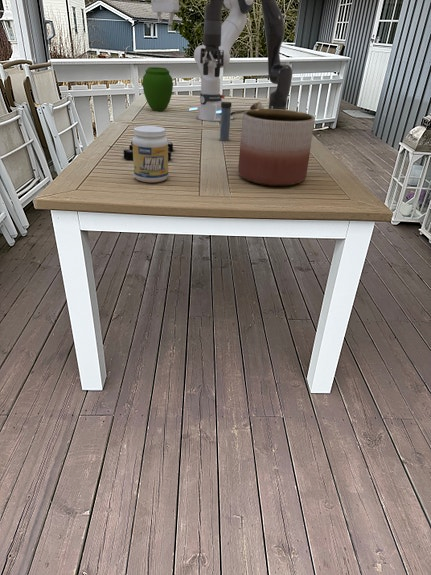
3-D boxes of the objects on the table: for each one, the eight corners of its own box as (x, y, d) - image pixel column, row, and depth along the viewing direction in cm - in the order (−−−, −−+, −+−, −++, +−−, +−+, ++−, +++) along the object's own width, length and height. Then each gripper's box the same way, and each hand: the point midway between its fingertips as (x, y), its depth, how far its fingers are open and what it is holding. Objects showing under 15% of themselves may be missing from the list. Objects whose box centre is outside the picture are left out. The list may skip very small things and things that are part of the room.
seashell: (262, 114, 271) (264, 101, 267) (264, 116, 267) (266, 102, 262) (248, 114, 270) (249, 101, 266) (250, 115, 265) (251, 102, 261)
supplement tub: (139, 184, 140) (136, 133, 131) (130, 174, 149) (127, 125, 140) (173, 181, 144) (172, 131, 135) (162, 172, 153) (161, 124, 144)
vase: (143, 107, 275) (142, 66, 262) (173, 108, 277) (172, 67, 264) (142, 112, 259) (140, 68, 246) (173, 113, 261) (173, 70, 248)
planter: (315, 188, 145) (327, 122, 133) (246, 188, 141) (252, 121, 129) (292, 167, 166) (301, 109, 155) (231, 167, 162) (235, 107, 150)
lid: (220, 106, 197) (220, 101, 196) (230, 106, 198) (230, 101, 197) (221, 107, 193) (221, 103, 192) (232, 108, 194) (232, 103, 193)
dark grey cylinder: (219, 139, 205) (221, 102, 196) (228, 139, 206) (230, 102, 197) (220, 141, 201) (222, 104, 192) (229, 141, 202) (231, 104, 193)
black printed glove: (122, 152, 163) (135, 135, 189) (122, 159, 165) (135, 142, 190) (169, 154, 164) (176, 137, 189) (170, 161, 165) (176, 144, 191)
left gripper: (182, -11, 195) (182, 24, 203) (159, -9, 209) (160, 23, 216) (171, -12, 192) (171, 23, 199) (148, -11, 205) (149, 22, 213)
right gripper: (229, 34, 171) (227, 77, 180) (209, 33, 180) (208, 74, 189) (215, 33, 167) (213, 77, 176) (195, 32, 177) (195, 74, 185)
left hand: (165, 23), depth 208 cm, fingers open, 8 cm apart
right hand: (211, 75), depth 182 cm, fingers open, 8 cm apart
